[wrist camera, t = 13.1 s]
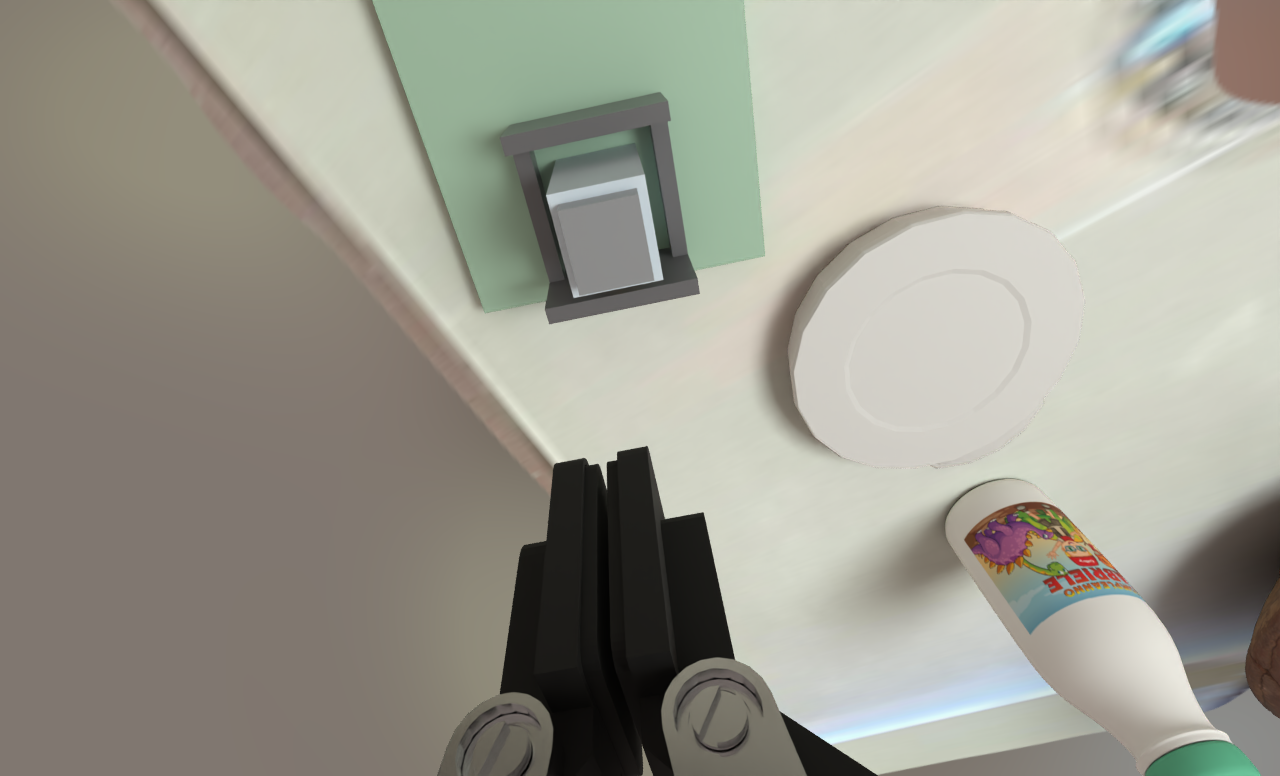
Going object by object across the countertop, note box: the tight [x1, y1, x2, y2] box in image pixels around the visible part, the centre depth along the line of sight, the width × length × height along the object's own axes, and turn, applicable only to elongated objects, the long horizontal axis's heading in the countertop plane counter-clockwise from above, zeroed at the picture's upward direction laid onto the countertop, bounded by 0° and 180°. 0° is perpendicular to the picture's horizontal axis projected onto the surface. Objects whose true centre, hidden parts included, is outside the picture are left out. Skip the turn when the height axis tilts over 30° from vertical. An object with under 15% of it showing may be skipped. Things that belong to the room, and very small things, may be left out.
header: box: [500, 92, 700, 324], centre depth 29 cm, size 8×7×5 cm
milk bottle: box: [945, 479, 1261, 776], centre depth 38 cm, size 8×8×20 cm
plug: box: [546, 143, 663, 298], centre depth 28 cm, size 5×4×8 cm
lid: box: [787, 206, 1086, 469], centre depth 38 cm, size 17×20×3 cm
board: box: [372, 0, 765, 313], centre depth 29 cm, size 20×16×1 cm
